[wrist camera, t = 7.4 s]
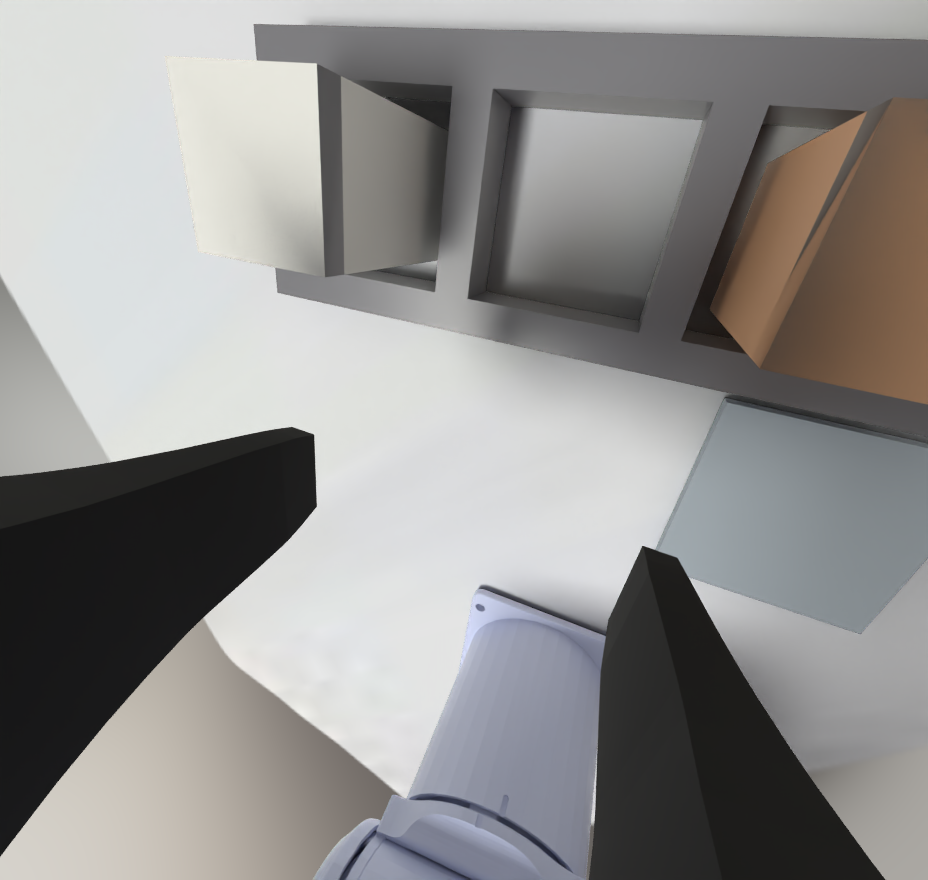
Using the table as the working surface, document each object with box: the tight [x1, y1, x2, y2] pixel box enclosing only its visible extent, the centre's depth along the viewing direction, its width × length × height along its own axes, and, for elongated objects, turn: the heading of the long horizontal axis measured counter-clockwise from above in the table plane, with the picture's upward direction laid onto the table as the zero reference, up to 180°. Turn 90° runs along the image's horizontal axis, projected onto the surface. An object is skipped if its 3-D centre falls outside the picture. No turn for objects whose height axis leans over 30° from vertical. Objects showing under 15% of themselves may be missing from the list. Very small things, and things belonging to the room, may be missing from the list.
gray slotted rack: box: [254, 24, 928, 437], centre depth 13 cm, size 8×22×2 cm, turn 83°
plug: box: [709, 97, 928, 404], centre depth 9 cm, size 4×4×7 cm
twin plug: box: [165, 56, 449, 277], centre depth 13 cm, size 4×4×7 cm
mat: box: [655, 398, 928, 634], centre depth 15 cm, size 8×8×1 cm
